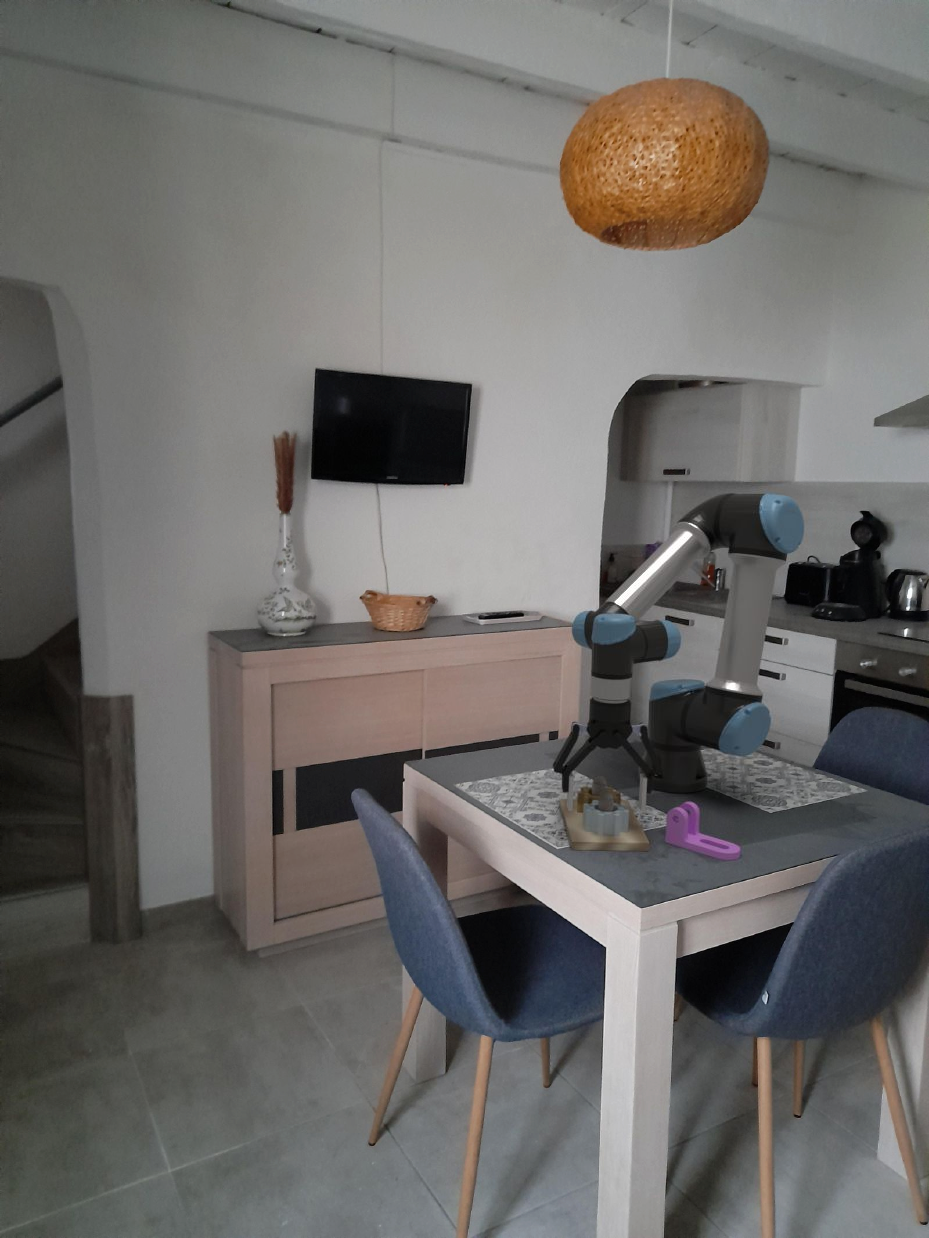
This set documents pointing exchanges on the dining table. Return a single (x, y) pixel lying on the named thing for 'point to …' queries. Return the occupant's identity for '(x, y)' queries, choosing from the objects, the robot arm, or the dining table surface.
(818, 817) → the dining table surface
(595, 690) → the robot arm
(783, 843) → the dining table surface
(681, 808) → the bracket
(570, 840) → the gear board
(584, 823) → the gear
